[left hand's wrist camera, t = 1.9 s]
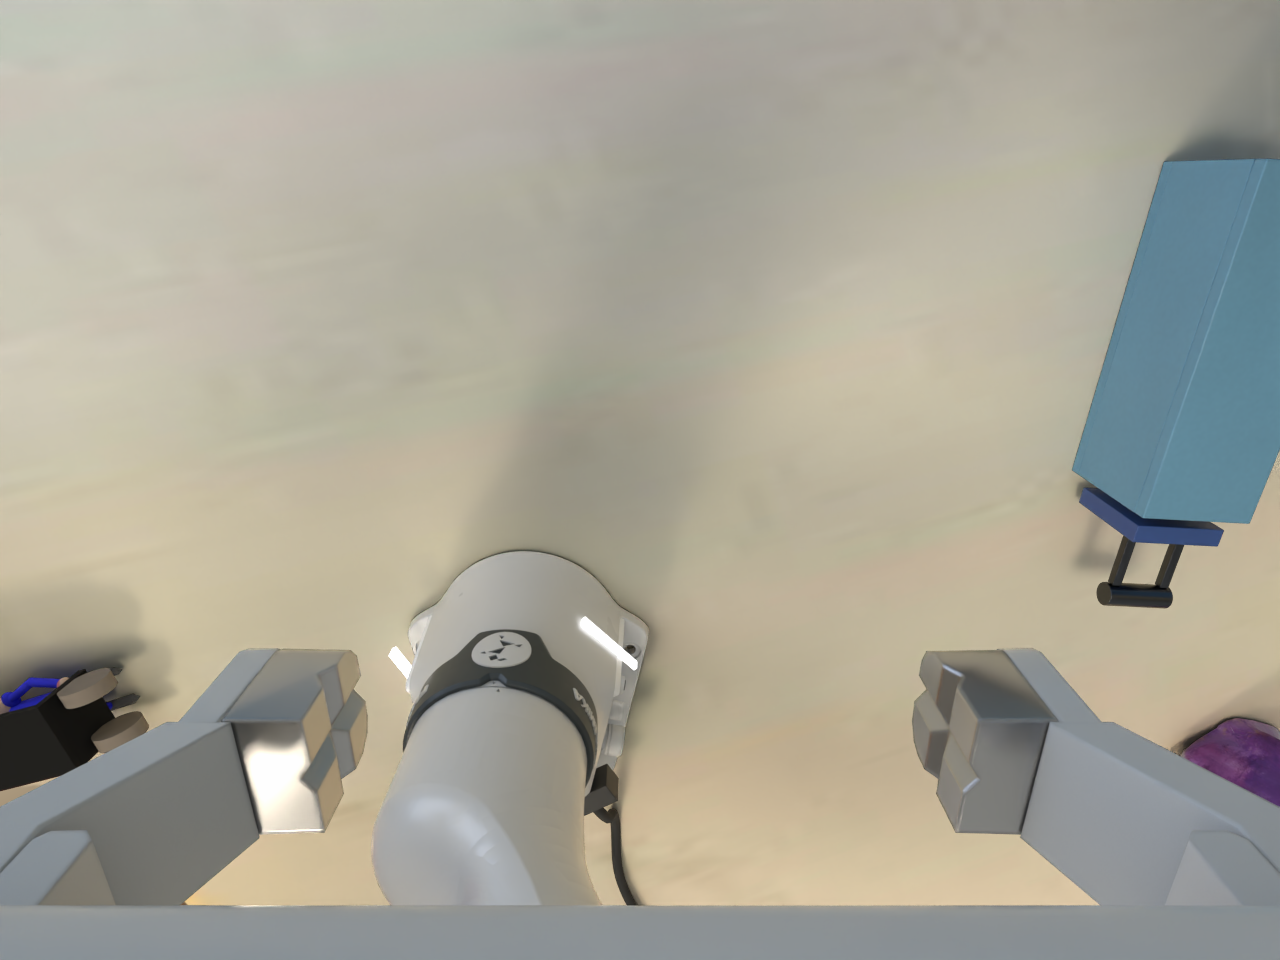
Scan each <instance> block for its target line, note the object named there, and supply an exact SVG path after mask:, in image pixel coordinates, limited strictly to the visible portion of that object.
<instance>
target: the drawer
mask: <svg viewBox="0 0 1280 960" xmlns="http://www.w3.org/2000/svg"><path fill="white" fill-rule="evenodd" d="M1079 503H1081V504H1082V505H1083V506H1085V507H1086V508H1088V509H1089V510H1090V511H1092V512H1093V513H1094V514H1096V515H1097V516H1098V517H1100V518H1101V519H1102V520H1104V521H1105V522H1106V523H1108V524H1109V525H1110V526H1112V527H1113V528H1114V529H1116V530H1117V531H1119V532H1120V533H1121V534H1123V538H1122V541H1121V544H1120V547H1119V550H1118V553H1117V556H1116V559H1115V562H1114V565H1113V568H1112V571H1111V574H1110V577H1109V580H1108V582H1102V583H1100V584H1099V585H1098V588H1097V598H1098V601H1099V602H1100V603H1101V604H1102V605H1107V606H1127V607H1147V608H1168V607H1169V606H1170V605H1171V604H1172V600H1173V595H1172V592H1171V590H1170V588H1169V584H1170V582H1171V579H1172V576H1173V574H1174V571H1175V568H1176V566H1177V563H1178V560H1179V558H1180V555H1181V552H1182V550H1183V547H1184V545H1199V546H1218V544H1219V542H1220V539H1221V537H1222V534H1223V532H1224V530H1223V529H1221V528H1219V527H1218V526H1216V525H1214V524H1213V523H1211V522H1208V521H1189V520H1170V519H1151V518H1142V517H1141V516H1139V515H1138V514H1136V513H1134V512H1133V511H1131V510H1130V509H1128V508H1127V507H1125V506H1124V505H1122V504H1121V503H1120V502H1118V501H1117V500H1115V499H1114V498H1112V497H1111V496H1109V495H1108V494H1106V493H1105V492H1103V491H1102V490H1100V489H1099V488H1083V491H1082V494H1081V498H1080V501H1079ZM1136 542H1141V543H1161V544H1169V546H1168V549H1167V552H1166V555H1165V557H1164V560H1163V563H1162V566H1161V568H1160V571H1159V574H1158V576H1157V579H1156V582H1155V584H1156V585H1152V584H1132V583H1122V581H1123V578H1124V575H1125V572H1126V569H1127V566H1128V564H1129V561H1130V558H1131V555H1132V552H1133V549H1134V546H1135V543H1136Z"/></svg>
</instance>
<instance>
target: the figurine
mask: <svg viewBox="0 0 1280 960" xmlns="http://www.w3.org/2000/svg"><path fill="white" fill-rule="evenodd" d="M1180 756H1181V757H1183V758H1185V759H1187V760H1189V761H1191V762H1192V763H1194V764H1196V765H1198V766H1200V767H1202V768H1204V769H1206V770H1208V771H1210V772H1212V773H1214V774H1216V775H1218V776H1220V777H1222V778H1224V779H1226V780H1228V781H1230V782H1232V783H1234V784H1236V785H1238V786H1240V787H1242V788H1244V789H1246V790H1248V791H1249V792H1251V793H1253V794H1255V795H1257V796H1259V797H1261V798H1263V799H1265V800H1267V801H1269V802H1271V803H1273V804H1275V805H1277V806H1279V807H1280V731H1279V730H1278V729H1277V728H1275V727H1273V726H1271V725H1268V724H1264V723H1262V722H1257V721H1254V720H1248V719H1242V718H1235V719H1232V720H1227V721H1225V722H1223V723H1222V724H1220V725H1218V727H1217V728H1216V729H1214V730H1212V731H1211V732H1209V733H1207V734H1205V735H1204V736H1202V737H1200V738H1199V739H1198V740H1196V741H1195V742H1193V743H1192V744H1191V745H1190V746H1189V747H1188V748H1186V749H1185V750H1184V751H1183V752H1182V754H1181V755H1180Z"/></svg>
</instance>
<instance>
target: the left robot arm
mask: <svg viewBox="0 0 1280 960" xmlns="http://www.w3.org/2000/svg"><path fill="white" fill-rule="evenodd" d="M648 636H649V629H648V627H647V625H646V624H645V623H644V622H643V621H642V620H641V619H639V618H638V617H636V616H635V615H633V614H631V613H630V612H628V611H626V610H624V609H623V608H621V607H620V606H619V605H618V604H616V602H615V601H614V600H613V599H612V597H611V596H610V595H609V593H608V592H607V591H606V589H605V588H604V587H603V586H602V585H601V583H600V582H599V581H598V580H597V579H596V578H594V577H593V576H592V575H591V574H590V573H588V572H587V571H586V570H584V569H583V568H581V567H580V566H578V565H576V564H574V563H572V562H570V561H568V560H566V559H563V558H561V557H557V556H554V555H550V554H546V553H541V552H532V551H516V552H508V553H502V554H498V555H494V556H491V557H488V558H486V559H483V560H481V561H479V562H477V563H475V564H474V565H472V566H470V567H469V568H467V569H466V570H465V571H464V572H462V573H461V574H460V575H459V576H458V577H457V578H456V579H455V580H454V581H453V583H452V584H451V585H450V587H449V588H448V590H447V591H446V593H445V594H444V596H443V597H442V598H441V600H440V601H439V602H438V603H437V604H436V605H434V606H432V607H430V608H429V609H427V610H425V611H423V612H422V613H420V614H419V615H417V616H416V617H415V618H414V619H413V620H412V622H411V624H410V627H409V630H408V638H409V641H410V644H411V646H412V649H413V652H414V655H415V658H414V661H413V663H412V666H411V665H410V663H409V662H408V661H407V660H406V658H405V657H404V656H403V655H402V654H401V652H400V651H399V650H398V649H397V647H394V648H393V649H392V650H391V652H390V654H389V657H390V658H391V659H392V660H393V662H394V663H395V664H396V665H397V667H398V668H399V669H400V670H401V671H402V673H403V674H404V675H405V676H406V678H407V681H406V691H407V692H408V693H410V695H411V699H412V703H413V707H412V709H411V712H410V714H409V717H408V718H409V719H408V721H407V726H406V731H405V735H404V739H403V755H402V757H401V760H400V762H399V765H398V767H397V769H396V772H395V774H394V777H393V779H392V782H391V784H390V786H389V789H388V791H387V794H386V796H385V798H384V801H383V803H382V806H381V808H380V810H379V813H378V815H377V818H376V821H375V824H374V828H373V834H372V843H371V857H372V864H373V869H374V874H375V877H376V880H377V882H378V885H379V887H380V889H381V891H382V893H383V895H384V897H385V898H386V900H387V901H388V902H389V904H390V905H389V906H215V905H181V904H182V903H183V902H184V901H185V900H187V899H188V898H189V897H190V896H191V895H193V894H194V893H195V892H196V891H197V890H198V889H200V888H201V887H202V886H203V885H204V884H206V883H207V882H208V881H209V880H210V879H211V878H213V877H214V876H215V875H216V874H217V873H219V872H220V871H221V870H222V869H223V868H224V867H226V866H227V865H228V864H229V863H230V862H232V861H233V860H234V859H235V858H236V857H237V856H239V855H240V854H241V853H242V852H243V851H245V850H246V849H247V848H248V847H249V846H250V845H252V844H253V843H254V842H255V841H256V840H258V839H259V834H291V833H325V831H326V829H327V827H328V825H329V823H330V821H331V819H332V816H333V814H334V812H335V810H336V808H337V806H338V804H339V802H340V800H341V798H342V796H343V794H344V792H343V786H342V781H341V779H342V778H344V777H345V776H346V775H348V774H349V773H351V772H352V771H353V770H355V769H356V767H357V765H358V763H359V761H360V759H361V756H362V754H363V751H364V746H365V741H366V737H367V722H368V715H367V709H366V702H365V700H364V699H363V698H362V697H361V696H360V695H359V694H358V693H357V692H356V691H355V690H354V687H355V685H356V683H357V682H358V680H359V678H360V676H361V673H360V668H359V664H358V659H357V656H356V655H355V654H354V653H353V652H352V651H351V650H318V649H282V650H281V649H246V650H243V651H240V652H239V653H238V654H237V655H236V656H235V657H234V658H233V659H232V661H231V662H230V663H229V664H228V665H227V666H226V668H225V669H224V670H223V671H222V672H221V673H220V675H219V676H218V677H217V678H216V679H215V680H214V681H213V683H212V684H211V685H210V686H209V687H208V688H207V690H206V691H205V692H204V693H203V694H202V695H201V696H200V698H199V699H198V700H197V701H196V702H195V703H194V705H193V706H192V707H191V708H190V709H189V710H188V711H187V713H186V714H185V715H184V716H183V717H182V718H181V720H180V721H179V722H166V723H164V724H162V725H160V726H158V727H156V728H154V729H152V730H150V731H148V732H146V733H144V734H142V735H141V736H139V737H137V738H135V739H133V740H131V741H129V742H127V743H125V744H123V745H121V746H119V747H117V748H115V749H113V750H111V751H109V752H107V753H105V754H103V755H101V756H99V757H97V758H95V759H93V760H91V761H89V762H87V763H85V764H83V765H81V766H79V767H77V768H75V769H73V770H72V771H70V772H68V773H66V774H64V775H62V776H60V777H58V778H56V779H54V780H52V781H50V782H48V783H46V784H44V785H42V786H40V787H38V788H36V789H34V790H32V791H30V792H28V793H26V794H24V795H22V796H20V797H18V798H16V799H14V800H12V801H10V802H8V803H7V804H5V805H3V806H1V807H0V960H1280V807H1279V806H1277V805H1275V804H1273V803H1271V802H1269V801H1267V800H1265V799H1263V798H1261V797H1259V796H1257V795H1255V794H1253V793H1251V792H1249V791H1248V790H1246V789H1244V788H1242V787H1240V786H1238V785H1236V784H1234V783H1232V782H1230V781H1228V780H1226V779H1224V778H1222V777H1220V776H1218V775H1216V774H1214V773H1212V772H1210V771H1208V770H1206V769H1204V768H1202V767H1200V766H1198V765H1196V764H1194V763H1192V762H1191V761H1189V760H1187V759H1185V758H1183V757H1181V756H1179V755H1177V754H1175V753H1173V752H1171V751H1169V750H1167V749H1165V748H1163V747H1161V746H1159V745H1157V744H1155V743H1153V742H1151V741H1149V740H1147V739H1145V738H1143V737H1141V736H1139V735H1137V734H1135V733H1134V732H1132V731H1130V730H1128V729H1126V728H1124V727H1122V726H1120V725H1118V724H1116V723H1114V722H1101V721H1100V720H1099V718H1098V717H1097V716H1096V715H1095V714H1094V713H1093V711H1092V710H1091V709H1090V708H1089V707H1088V706H1087V705H1086V703H1085V702H1084V701H1083V700H1082V699H1081V698H1080V696H1079V695H1078V694H1077V693H1076V692H1075V691H1074V690H1073V688H1072V687H1071V686H1070V685H1069V684H1068V683H1067V681H1066V680H1065V679H1064V678H1063V677H1062V676H1061V675H1060V673H1059V672H1058V671H1057V670H1056V669H1055V668H1054V666H1053V665H1052V664H1051V663H1050V662H1049V661H1048V660H1047V658H1046V657H1045V656H1044V655H1043V654H1042V653H1041V652H1040V651H1037V650H1035V649H1033V648H1022V649H997V650H967V651H926V653H925V655H924V657H923V659H922V662H921V667H920V673H919V676H920V678H921V680H922V682H923V683H924V685H925V687H926V690H925V691H924V692H923V693H922V694H921V695H920V696H919V697H918V698H917V699H916V700H915V703H914V710H913V718H912V725H913V738H914V743H915V747H916V750H917V754H918V757H919V759H920V761H921V763H922V765H923V767H924V769H925V770H927V771H928V772H929V773H931V774H932V775H934V776H935V777H936V778H938V779H939V781H938V786H937V792H936V794H937V796H938V798H939V800H940V802H941V804H942V806H943V808H944V810H945V812H946V814H947V816H948V818H949V820H950V822H951V824H952V826H953V828H954V831H955V833H988V834H1021V837H1020V838H1022V839H1023V840H1024V841H1025V842H1026V843H1028V844H1029V845H1030V846H1031V847H1032V848H1033V849H1035V850H1036V851H1037V852H1038V853H1039V854H1040V855H1042V856H1043V857H1044V858H1045V859H1046V860H1048V861H1049V862H1050V863H1051V864H1052V865H1053V866H1055V867H1056V868H1057V869H1058V870H1059V871H1061V872H1062V873H1063V874H1064V875H1065V876H1066V877H1068V878H1069V879H1070V880H1071V881H1072V882H1074V883H1075V884H1076V885H1077V886H1078V887H1079V888H1081V889H1082V890H1083V891H1084V892H1085V893H1087V894H1088V895H1089V896H1090V897H1091V898H1092V899H1094V900H1095V901H1096V902H1097V903H1098V904H1099V905H1101V906H637V905H636V903H635V901H634V899H633V897H632V895H631V893H630V891H629V888H628V886H627V883H626V880H625V877H624V873H623V868H622V861H621V841H620V820H619V815H618V812H617V810H616V809H614V808H612V809H609V811H608V812H607V811H606V810H605V809H604V808H603V807H605V806H608V805H610V804H612V803H614V802H617V801H618V777H617V776H616V774H615V773H614V772H613V769H614V767H615V764H616V761H617V757H619V756H621V755H622V750H623V745H624V737H625V726H626V722H627V719H628V715H629V711H630V707H631V703H632V699H633V696H634V692H635V688H636V684H637V680H638V676H639V673H640V669H641V665H642V661H643V657H644V653H645V650H646V646H647V642H648ZM628 645H633V646H634V648H632V649H628V648H626V646H628ZM592 812H594V813H595V815H596V816H597V817H598V818H599V819H601V820H602V821H604V822H605V823H611V839H612V861H613V869H614V874H615V878H616V881H617V885H618V887H619V890H620V892H621V894H622V897H623V899H624V901H625V903H626V905H627V906H626V905H602V904H601V902H600V900H599V898H598V896H597V894H596V892H595V890H594V887H593V884H592V882H591V879H590V876H589V873H588V869H587V865H586V859H585V849H584V816H585V815H587V814H590V813H592Z"/></svg>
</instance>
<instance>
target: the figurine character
mask: <svg viewBox="0 0 1280 960" xmlns="http://www.w3.org/2000/svg"><path fill="white" fill-rule="evenodd" d="M121 670H122V669H119V668H115V667H113V668H110V669H109V668H101V669H97V670H94V671H91V672H88V673H87V671H86V669H84V670H79V671H78V672H76V673H75V674H74V675H73V676H71V677H70V678H68V677H65V678H62V679H52V678H33V677H31V678H29V679H28V680H26V681H25V682H24V683H23V684H22V685H21V686H19V687H18V688H17V689H16V690H15V691H14V692H7V693H4V694H3V695H2V697H1V698H0V791H3V790H7V789H11V788H15V787H19V786H23V785H27V784H31V783H35V782H39V781H42V780H46V779H50V778H54V777H58V776H62V775H64V774H66V773H68V772H70V771H72V770H73V769H75V768H77V767H79V766H81V765H83V764H85V763H87V762H88V761H89V760H90V759H91V758H92V757H93V756H94V755H95V754H96V753H97V752H98V751H99V752H100V753H107V752H109V751H111V750H113V749H115V748H117V747H119V746H121V745H123V744H125V743H127V742H129V741H131V740H133V739H135V738H137V737H139V736H141V735H142V734H144V733H145V732H146V731H147V730H148V728H149V725H148V723H147V721H146V720H145V718H144V716H143V715H142V713H141V712H138V711H136V712H130V713H127V714H124V715H121V716H119V717H117V718H115V717H114V715H113V714H112V712H111V711H112V710H115V709H118V708H121V707H124V706H128V705H131V704H134V703H136V702H137V700H138V699H139V697H140V696H138V695H135V694H131V695H127V696H124V697H121V698H118V699H115V700H111V701H108V702H105V701H104V699H103V696H104V695H106V694H107V693H109V692H110V691H111V690H112V689H114V688H115V686H116V685H117V683H118V682H117V680H116V679H115V677H114V675H118V674H119V673H120V672H121ZM32 687H46V688H56V689H55V690H54V691H53V692H50V693H46V694H43V695H40V696H37V697H33V698H30V699H27V700H24V701H21V698H20V697H21V696H22V695H24V694H25V693H26V692H27V691H28V690H29V689H31V688H32Z"/></svg>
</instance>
